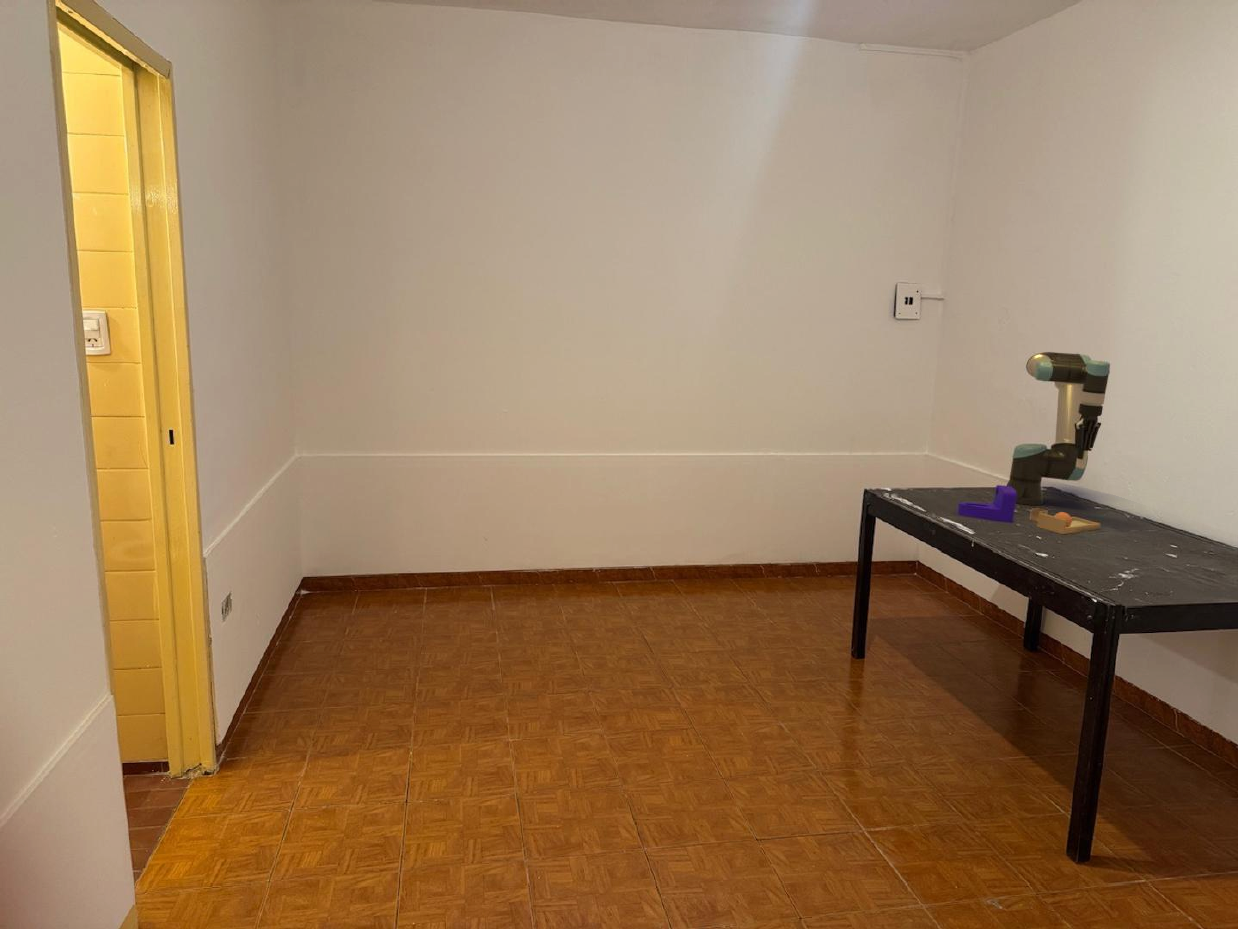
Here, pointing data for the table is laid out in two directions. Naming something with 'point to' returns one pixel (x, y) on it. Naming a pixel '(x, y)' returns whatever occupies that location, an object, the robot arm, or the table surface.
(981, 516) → the bracket
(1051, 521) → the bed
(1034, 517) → the open wooden box
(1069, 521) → the ball
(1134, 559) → the table surface
